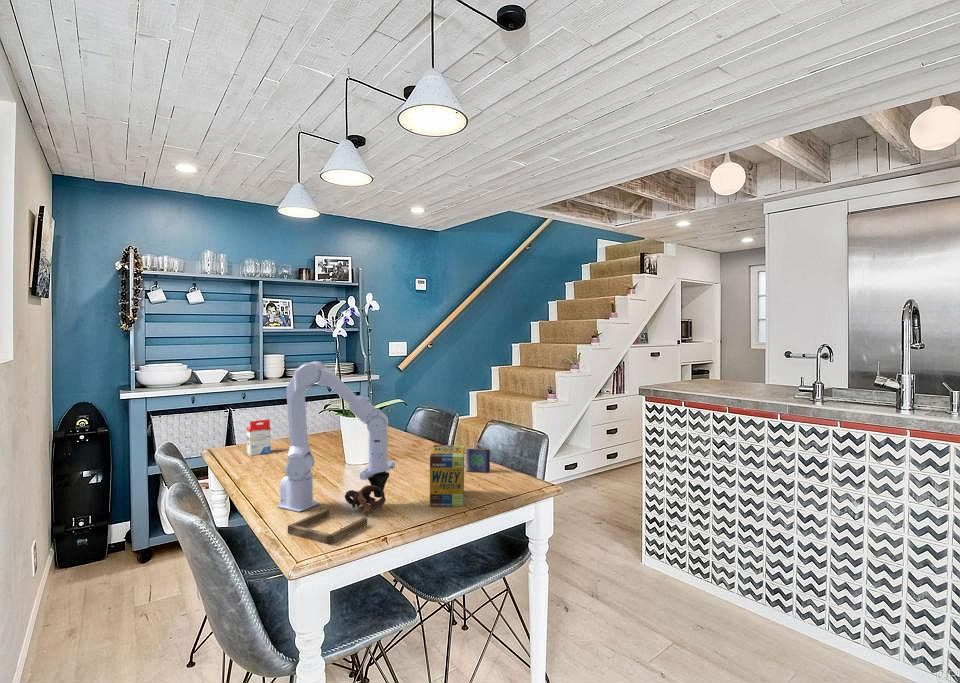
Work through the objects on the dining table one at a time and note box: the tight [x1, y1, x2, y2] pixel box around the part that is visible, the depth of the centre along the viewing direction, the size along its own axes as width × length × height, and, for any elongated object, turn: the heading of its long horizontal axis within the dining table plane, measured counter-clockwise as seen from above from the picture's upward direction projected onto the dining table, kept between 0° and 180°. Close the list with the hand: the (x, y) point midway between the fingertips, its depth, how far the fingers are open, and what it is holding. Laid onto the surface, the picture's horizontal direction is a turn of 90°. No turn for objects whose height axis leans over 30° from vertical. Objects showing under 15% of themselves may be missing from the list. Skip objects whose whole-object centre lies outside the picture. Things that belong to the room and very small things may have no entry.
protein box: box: [429, 444, 465, 507], centre depth 158 cm, size 10×15×16 cm
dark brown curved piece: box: [344, 484, 387, 517], centre depth 147 cm, size 12×10×8 cm
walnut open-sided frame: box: [287, 508, 368, 545], centre depth 133 cm, size 15×14×2 cm
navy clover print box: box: [465, 442, 491, 474], centre depth 188 cm, size 9×3×11 cm, turn 79°
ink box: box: [246, 419, 272, 457], centre depth 213 cm, size 8×5×15 cm, turn 130°
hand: (378, 496), depth 152 cm, fingers closed
